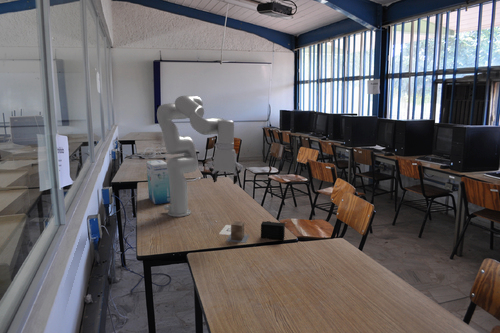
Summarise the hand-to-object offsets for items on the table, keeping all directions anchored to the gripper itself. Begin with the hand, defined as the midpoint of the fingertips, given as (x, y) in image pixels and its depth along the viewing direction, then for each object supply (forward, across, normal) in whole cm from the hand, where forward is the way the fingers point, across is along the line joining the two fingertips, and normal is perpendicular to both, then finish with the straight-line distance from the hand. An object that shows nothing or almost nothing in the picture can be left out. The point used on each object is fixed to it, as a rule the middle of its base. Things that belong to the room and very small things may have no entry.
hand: (225, 182), depth 178 cm
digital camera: (+23, +25, -5) cm, 34 cm away
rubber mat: (+23, +9, -10) cm, 27 cm away
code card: (+24, +3, 0) cm, 24 cm away
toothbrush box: (+26, -53, +42) cm, 73 cm away
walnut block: (+23, +9, -10) cm, 27 cm away
